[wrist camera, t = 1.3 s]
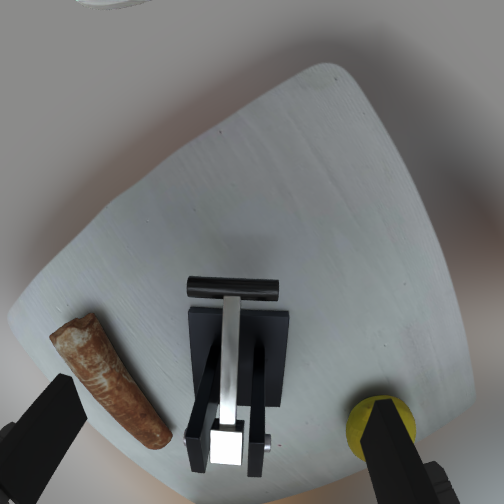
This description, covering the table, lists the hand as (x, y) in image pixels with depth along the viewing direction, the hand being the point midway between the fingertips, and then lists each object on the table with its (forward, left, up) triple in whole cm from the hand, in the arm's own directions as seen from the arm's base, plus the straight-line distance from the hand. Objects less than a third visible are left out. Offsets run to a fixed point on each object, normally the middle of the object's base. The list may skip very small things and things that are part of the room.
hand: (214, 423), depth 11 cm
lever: (+4, 0, -9) cm, 9 cm away
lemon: (+16, +16, -17) cm, 28 cm away
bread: (+12, -13, -17) cm, 24 cm away
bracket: (+8, 0, -16) cm, 18 cm away
